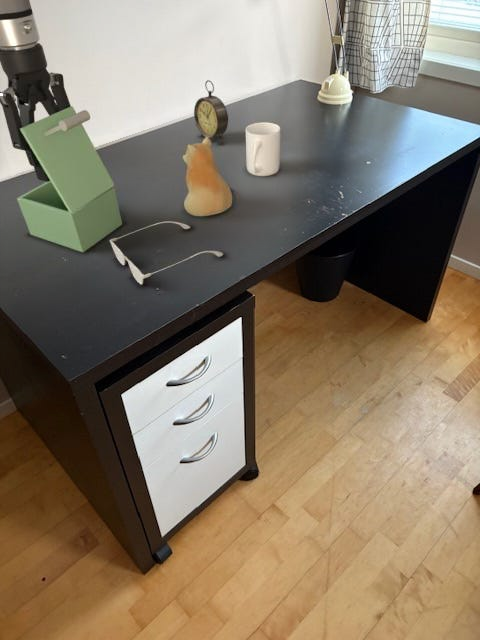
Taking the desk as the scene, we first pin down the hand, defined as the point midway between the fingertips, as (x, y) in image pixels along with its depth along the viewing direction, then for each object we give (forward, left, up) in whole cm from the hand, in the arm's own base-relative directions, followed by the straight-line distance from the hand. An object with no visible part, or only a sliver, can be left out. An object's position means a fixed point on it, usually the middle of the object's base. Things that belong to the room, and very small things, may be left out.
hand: (57, 172), depth 97 cm
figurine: (+27, +15, -14) cm, 34 cm away
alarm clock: (+20, +53, -14) cm, 58 cm away
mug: (+37, +32, -14) cm, 51 cm away
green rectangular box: (0, 0, -13) cm, 13 cm away
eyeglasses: (+24, -8, -14) cm, 28 cm away
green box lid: (+4, -2, +3) cm, 6 cm away
